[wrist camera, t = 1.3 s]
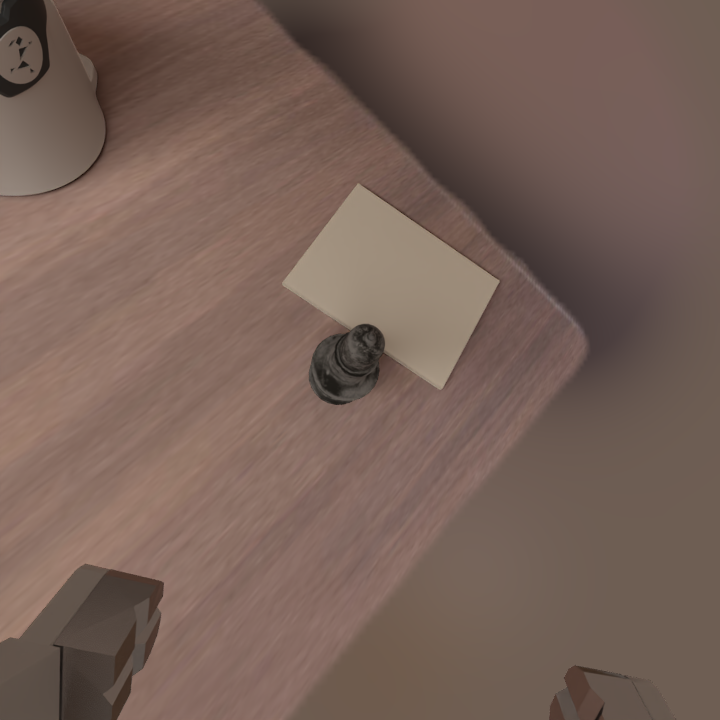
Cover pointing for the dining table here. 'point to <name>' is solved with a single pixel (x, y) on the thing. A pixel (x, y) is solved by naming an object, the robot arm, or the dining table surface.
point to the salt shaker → (347, 365)
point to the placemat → (394, 284)
